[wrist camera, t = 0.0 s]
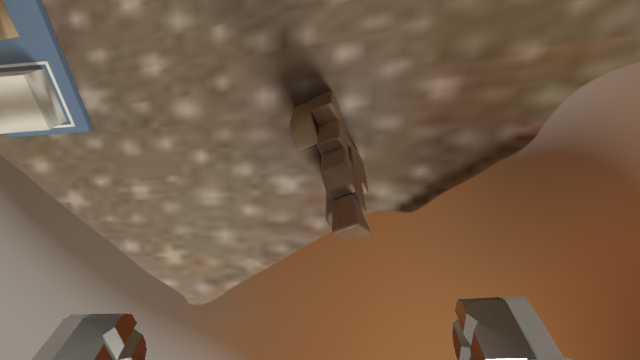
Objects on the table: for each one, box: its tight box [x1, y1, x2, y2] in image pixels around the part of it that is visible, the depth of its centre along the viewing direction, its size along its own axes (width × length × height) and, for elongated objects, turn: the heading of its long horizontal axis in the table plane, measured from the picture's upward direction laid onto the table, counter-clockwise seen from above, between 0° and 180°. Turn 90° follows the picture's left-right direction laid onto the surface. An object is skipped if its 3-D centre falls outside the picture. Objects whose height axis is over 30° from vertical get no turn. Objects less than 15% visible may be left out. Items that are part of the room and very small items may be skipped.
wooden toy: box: [290, 90, 370, 240], centre depth 48 cm, size 15×7×25 cm, turn 24°
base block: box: [0, 69, 67, 134], centre depth 53 cm, size 8×8×4 cm
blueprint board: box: [0, 0, 93, 137], centre depth 53 cm, size 22×14×1 cm, turn 5°
